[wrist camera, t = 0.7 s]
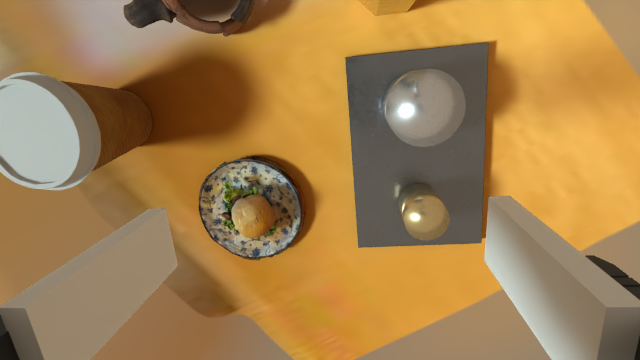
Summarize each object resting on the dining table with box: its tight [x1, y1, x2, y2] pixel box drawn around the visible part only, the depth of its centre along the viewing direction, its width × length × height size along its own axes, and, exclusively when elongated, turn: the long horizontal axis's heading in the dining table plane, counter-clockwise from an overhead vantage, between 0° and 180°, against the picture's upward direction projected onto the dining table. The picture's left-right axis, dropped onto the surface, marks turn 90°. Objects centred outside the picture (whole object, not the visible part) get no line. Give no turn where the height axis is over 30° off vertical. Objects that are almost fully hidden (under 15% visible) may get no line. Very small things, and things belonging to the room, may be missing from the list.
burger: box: [199, 156, 305, 260], centre depth 37 cm, size 12×12×8 cm
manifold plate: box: [345, 43, 488, 248], centre depth 33 cm, size 20×13×6 cm, turn 5°
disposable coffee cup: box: [0, 72, 152, 190], centre depth 33 cm, size 10×10×12 cm
